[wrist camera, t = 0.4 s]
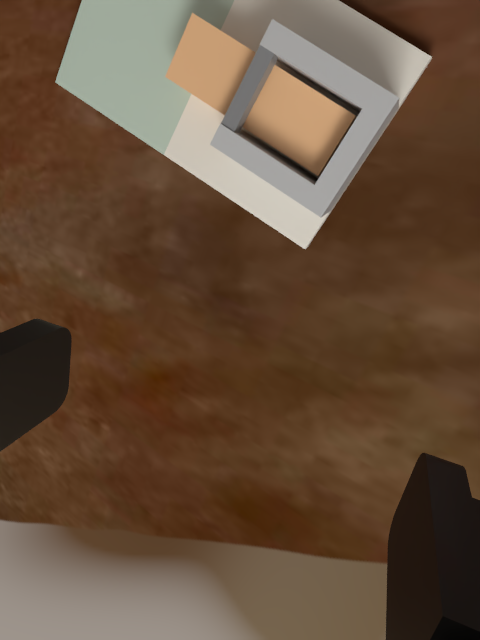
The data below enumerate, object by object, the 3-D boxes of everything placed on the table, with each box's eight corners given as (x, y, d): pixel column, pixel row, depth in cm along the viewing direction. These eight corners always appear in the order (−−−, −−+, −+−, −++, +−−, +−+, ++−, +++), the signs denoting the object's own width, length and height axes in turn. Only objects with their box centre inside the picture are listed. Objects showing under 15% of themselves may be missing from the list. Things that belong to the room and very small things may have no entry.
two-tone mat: (132, -121, 31) (81, -178, 26) (430, 60, 29) (438, 37, 24) (63, 84, 36) (11, 70, 31) (307, 247, 34) (292, 260, 29)
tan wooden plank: (209, 26, 31) (192, 12, 28) (359, 120, 30) (355, 115, 27) (184, 84, 33) (165, 76, 30) (324, 175, 32) (318, 175, 29)
